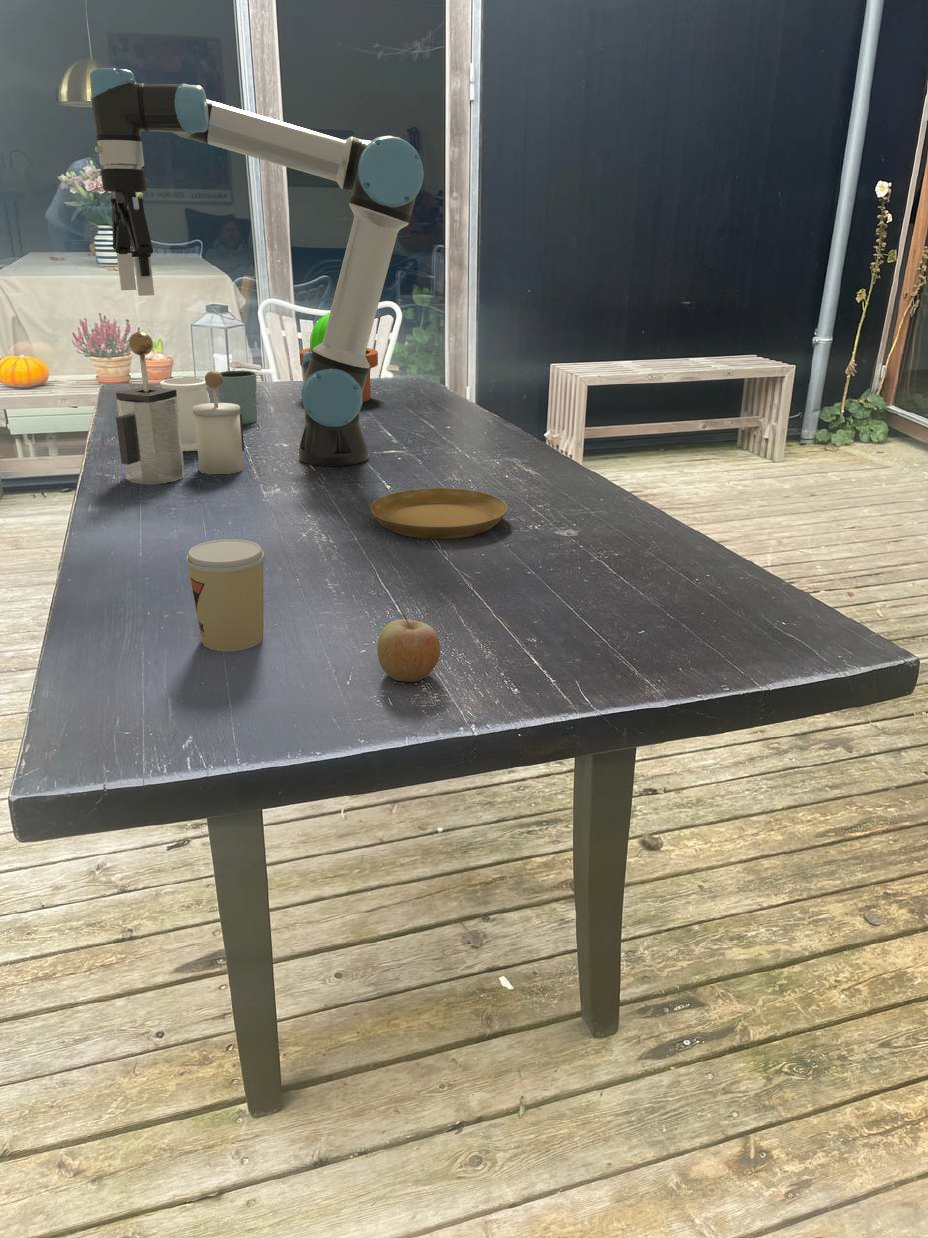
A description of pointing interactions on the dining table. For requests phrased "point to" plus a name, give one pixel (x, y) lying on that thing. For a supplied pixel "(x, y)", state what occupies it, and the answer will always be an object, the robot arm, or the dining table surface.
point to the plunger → (142, 353)
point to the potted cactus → (317, 339)
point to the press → (150, 435)
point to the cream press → (218, 432)
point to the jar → (188, 406)
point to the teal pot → (240, 392)
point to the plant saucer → (438, 512)
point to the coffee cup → (228, 593)
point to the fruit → (408, 649)
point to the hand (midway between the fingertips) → (137, 292)
